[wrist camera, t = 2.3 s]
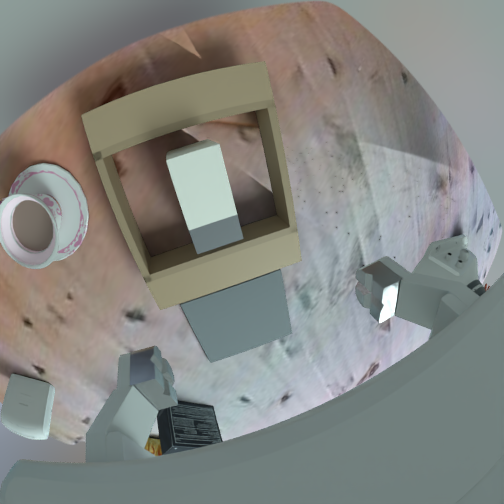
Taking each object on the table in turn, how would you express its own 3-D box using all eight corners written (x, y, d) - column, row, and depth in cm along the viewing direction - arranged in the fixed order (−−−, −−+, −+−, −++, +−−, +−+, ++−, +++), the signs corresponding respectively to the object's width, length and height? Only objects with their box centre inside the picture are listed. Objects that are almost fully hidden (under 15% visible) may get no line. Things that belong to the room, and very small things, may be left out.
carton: (252, 68, 24) (265, 61, 21) (288, 246, 36) (301, 260, 32) (92, 115, 22) (81, 115, 18) (159, 290, 33) (160, 310, 30)
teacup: (108, 204, 27) (96, 224, 22) (61, 276, 28) (47, 305, 23) (36, 141, 21) (10, 148, 15) (-3, 222, 22) (-27, 243, 17)
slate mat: (279, 267, 37) (280, 269, 36) (290, 331, 44) (292, 333, 43) (180, 302, 35) (180, 304, 34) (210, 360, 41) (210, 362, 41)
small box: (154, 412, 45) (160, 457, 36) (165, 397, 43) (171, 445, 35) (201, 419, 50) (211, 460, 41) (214, 405, 48) (226, 449, 39)
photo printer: (53, 382, 35) (43, 438, 24) (57, 394, 37) (50, 447, 26) (9, 369, 31) (-6, 421, 20) (15, 382, 33) (3, 432, 22)
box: (207, 139, 27) (219, 143, 21) (227, 214, 31) (243, 238, 25) (166, 151, 26) (166, 160, 20) (190, 226, 31) (197, 254, 25)
